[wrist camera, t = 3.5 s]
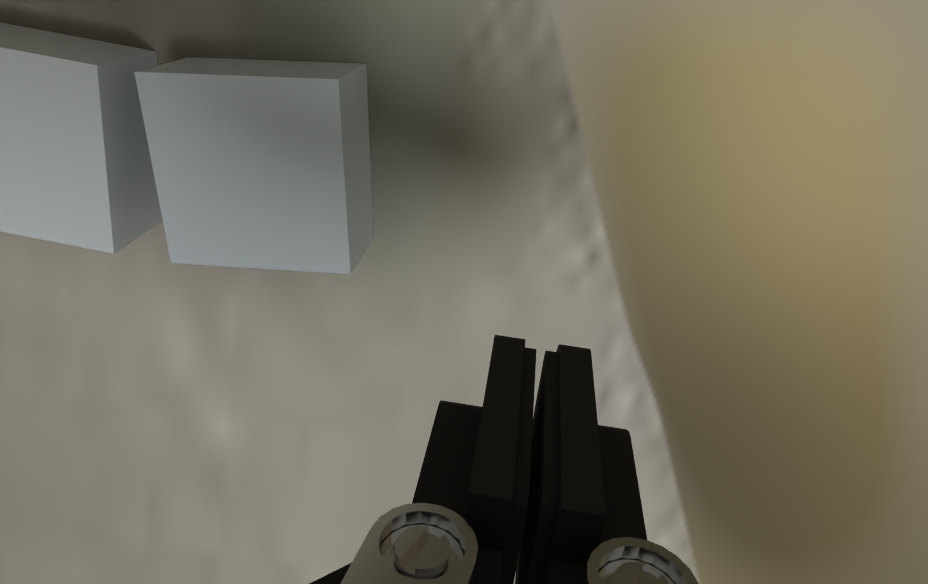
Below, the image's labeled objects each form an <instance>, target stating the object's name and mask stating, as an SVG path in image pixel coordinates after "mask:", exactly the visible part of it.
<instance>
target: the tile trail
mask: <svg viewBox="0 0 928 584" xmlns="http://www.w3.org/2000/svg"><path fill="white" fill-rule="evenodd" d="M134 73H135V78H136V84H137V89H138V94H139V99H140V104H141V110H142V115H143V120H144V125H145V130H146V136H147V141H148V146H149V151H150V156H151V162H152V167H153V172H154V177H155V182H156V187H157V193H158V198H159V203H160V208H161V213H162V219H163V224H164V229H165V234H166V239H167V245H168V250H169V255H170V260H171V263H182V264H197V265H213V266H228V267H244V268H260V269H275V270H291V271H306V272H322V273H338V274H351V273H352V271H353V270H354V268H355V266H356V265H357V263H358V262H359V260H360V258H361V257H362V255H363V254H364V252H365V250H366V249H367V247H368V246H369V244H370V242H371V241H372V239H373V238H374V226H373V204H372V182H371V159H370V137H369V115H368V92H367V70H366V64H365V63H337V62H308V61H280V60H252V59H224V58H195V57H187V58H184V59H180V60H176V61H172V62H169V63H165V64H161V65H158V66H154V67H150V68H146V69H143V70H139V71H135V72H134Z"/></svg>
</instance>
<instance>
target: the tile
mask: <svg viewBox="0 0 928 584" xmlns="http://www.w3.org/2000/svg"><path fill="white" fill-rule="evenodd" d="M154 66H157V56H156V51H151V50H146V49H141V48H135V47H130V46H125V45H119V44H114V43H108V42H103V41H98V40H92V39H87V38H82V37H76V36H71V35H66V34H60V33H55V32H50V31H44V30H39V29H34V28H28V27H23V26H18V25H12V24H7V23H2V22H0V231H1V232H7V233H12V234H17V235H22V236H27V237H32V238H37V239H42V240H47V241H52V242H57V243H63V244H68V245H73V246H78V247H83V248H88V249H93V250H98V251H103V252H108V253H113V254H114V253H115V252H117V251H118V250H120V249H121V248H123V247H124V246H126V245H127V244H129V243H130V242H132V241H133V240H135V239H136V238H138V237H139V236H140V235H142V234H143V233H145V232H146V231H148V230H149V229H151V228H152V227H154V226H155V225H157V224H158V223H160V222H161V221H163V219H162V213H161V208H160V203H159V198H158V193H157V187H156V182H155V177H154V172H153V167H152V162H151V156H150V151H149V146H148V141H147V136H146V130H145V125H144V120H143V115H142V110H141V104H140V99H139V94H138V89H137V84H136V78H135V73H134V72H135V71H139V70H143V69H146V68H150V67H154Z"/></svg>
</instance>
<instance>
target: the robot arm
mask: <svg viewBox="0 0 928 584" xmlns="http://www.w3.org/2000/svg"><path fill="white" fill-rule="evenodd" d="M535 365H536V349H531V348H525V339H519V338H512V337H506V336H499V335H495V337H494V343H493V349H492V355H491V361H490V367H489V373H488V379H487V385H486V391H485V397H484V403H483V407H479V406H473V405H466V404H460V403H454V402H447V401H440V403H439V406H438V409H437V413H436V417H435V420H434V424H433V428H432V431H431V435H430V439H429V443H428V446H427V450H426V454H425V457H424V461H423V465H422V468H421V472H420V476H419V480H418V483H417V487H416V491H415V494H414V498H413V502H412V504H405V505H402V506H399V507H396V508H393V509H391V510H390V511H388V512H386V513H385V514H383V515H382V516H380V517H379V519H378V520H377V521H376V522H375V523H374V525H373V526H372V527H371V529H370V531H369V532H368V534H367V536H366V538H365V540H364V541H363V543H362V545H361V547H360V549H359V551H358V552H357V554H356V556H355V558H354V560H353V562H352V563H350V564H348V565H346V566H344V567H342V568H340V569H338V570H336V571H334V572H332V573H330V574H328V575H326V576H324V577H322V578H320V579H318V580H316V581H314V582H312V583H310V584H513V583H514V577H515V572H516V579H515V584H699V583H698V582H697V580H696V578H695V576H694V575H693V573H692V571H691V570H690V568H689V567H688V566H687V565H686V564H685V563H684V562H683V561H682V560H681V559H680V558H679V557H678V556H676V555H675V554H673V553H672V552H670V551H669V550H667V549H666V548H664V547H663V546H660V545H658V544H655V543H653V542H650V541H648V540H647V536H646V530H645V524H644V518H643V511H642V505H641V499H640V493H639V487H638V480H637V474H636V468H635V462H634V456H633V449H632V443H631V437H630V434H629V431H628V430H626V429H620V428H614V427H607V426H601V425H598V422H597V412H596V401H595V390H594V379H593V369H592V358H591V350H590V349H586V348H580V347H573V346H566V345H559V346H558V349H557V352H551V351H546V352H545V356H544V361H543V366H542V372H541V378H540V383H539V389H538V394H537V400H536V405H535V411H534V417H533V404H534V385H535Z"/></svg>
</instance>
